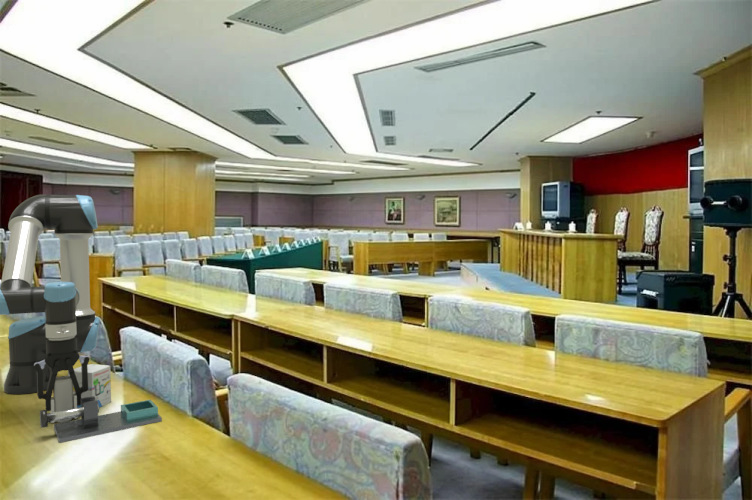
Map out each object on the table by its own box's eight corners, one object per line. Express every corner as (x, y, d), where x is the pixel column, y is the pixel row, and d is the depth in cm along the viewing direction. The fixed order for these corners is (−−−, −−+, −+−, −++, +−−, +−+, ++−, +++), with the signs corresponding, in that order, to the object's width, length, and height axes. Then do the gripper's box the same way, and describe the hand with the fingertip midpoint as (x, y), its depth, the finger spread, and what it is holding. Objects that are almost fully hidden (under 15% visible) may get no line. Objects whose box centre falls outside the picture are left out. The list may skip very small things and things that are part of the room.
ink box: (92, 411, 159) (91, 372, 159) (67, 409, 161) (66, 370, 160) (112, 401, 168) (111, 364, 167) (88, 399, 169) (87, 363, 169)
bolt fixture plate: (53, 427, 147) (52, 399, 146) (150, 408, 161) (150, 382, 161) (59, 442, 137) (58, 412, 137) (161, 421, 152) (161, 393, 151)
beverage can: (77, 418, 154) (76, 376, 153) (63, 424, 149) (61, 381, 149) (65, 416, 155) (63, 375, 155) (50, 422, 151) (48, 379, 150)
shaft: (40, 424, 141) (39, 408, 141) (96, 414, 149) (96, 398, 149) (41, 430, 138) (41, 413, 138) (99, 418, 146) (99, 402, 146)
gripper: (24, 344, 143) (27, 430, 144) (99, 335, 153) (101, 416, 155) (22, 339, 149) (25, 422, 150) (94, 331, 159) (96, 408, 161)
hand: (64, 419), depth 152 cm, fingers closed on beverage can, 5 cm apart
